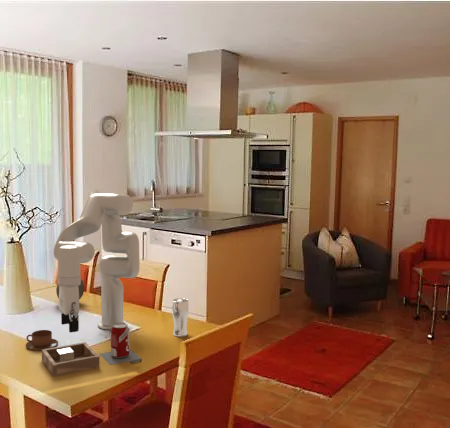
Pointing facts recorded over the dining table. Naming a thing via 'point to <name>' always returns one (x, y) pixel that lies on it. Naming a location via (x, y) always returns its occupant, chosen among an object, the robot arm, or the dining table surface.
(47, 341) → the cup and saucer
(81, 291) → the cantaloupe
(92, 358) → the walnut crate
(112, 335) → the soda can
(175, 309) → the beer glass
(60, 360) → the metal block
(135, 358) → the slate mat
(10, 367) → the dining table surface
